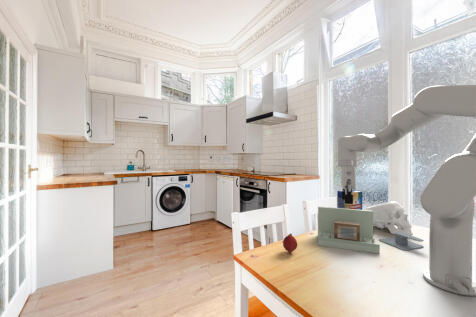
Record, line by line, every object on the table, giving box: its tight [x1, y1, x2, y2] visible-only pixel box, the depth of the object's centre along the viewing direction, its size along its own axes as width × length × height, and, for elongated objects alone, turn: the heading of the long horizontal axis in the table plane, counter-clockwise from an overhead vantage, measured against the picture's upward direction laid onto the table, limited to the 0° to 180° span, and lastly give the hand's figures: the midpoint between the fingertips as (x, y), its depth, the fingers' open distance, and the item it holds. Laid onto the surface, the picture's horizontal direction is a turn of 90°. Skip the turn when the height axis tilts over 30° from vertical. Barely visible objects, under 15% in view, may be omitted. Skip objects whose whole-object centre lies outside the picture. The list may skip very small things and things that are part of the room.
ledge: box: [317, 205, 381, 255], centre depth 97 cm, size 13×24×15 cm, turn 69°
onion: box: [282, 233, 298, 253], centre depth 88 cm, size 6×6×8 cm
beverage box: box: [336, 189, 363, 210], centre depth 113 cm, size 7×11×22 cm, turn 115°
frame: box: [334, 221, 360, 242], centre depth 95 cm, size 4×10×8 cm, turn 69°
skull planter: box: [365, 200, 414, 236], centre depth 116 cm, size 14×20×19 cm
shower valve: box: [378, 232, 424, 252], centre depth 96 cm, size 12×6×15 cm
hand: (347, 201), depth 95 cm, fingers open, 9 cm apart
